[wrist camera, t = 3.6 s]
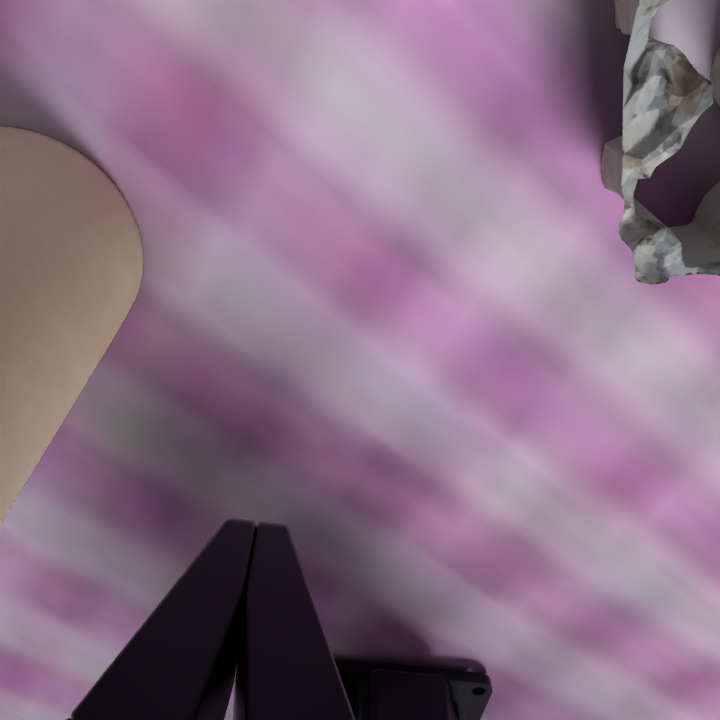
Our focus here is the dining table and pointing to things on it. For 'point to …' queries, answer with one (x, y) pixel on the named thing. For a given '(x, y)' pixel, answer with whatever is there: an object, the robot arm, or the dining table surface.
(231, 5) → the dining table surface
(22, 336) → the candle
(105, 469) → the dining table surface
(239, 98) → the dining table surface
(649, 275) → the grey jagged ring-shaped piece
